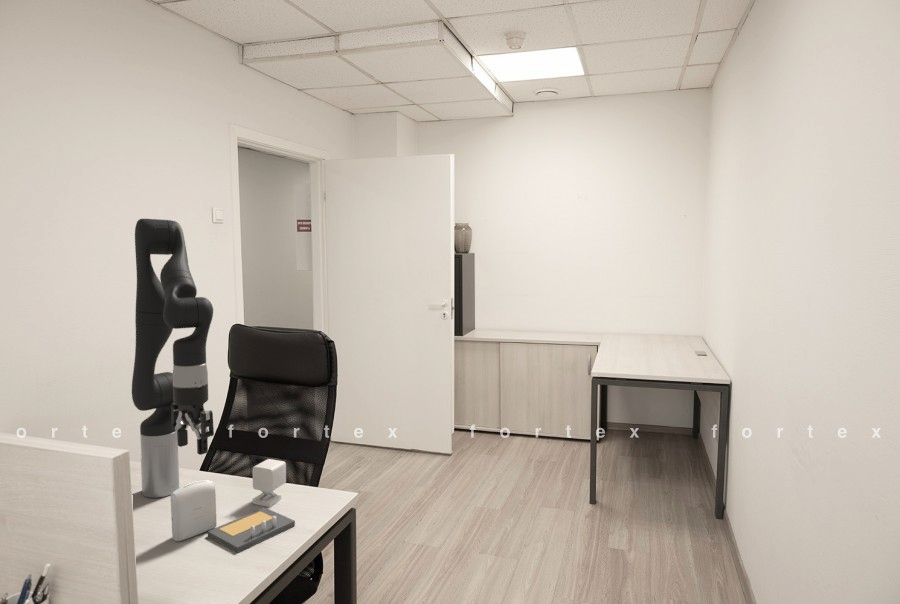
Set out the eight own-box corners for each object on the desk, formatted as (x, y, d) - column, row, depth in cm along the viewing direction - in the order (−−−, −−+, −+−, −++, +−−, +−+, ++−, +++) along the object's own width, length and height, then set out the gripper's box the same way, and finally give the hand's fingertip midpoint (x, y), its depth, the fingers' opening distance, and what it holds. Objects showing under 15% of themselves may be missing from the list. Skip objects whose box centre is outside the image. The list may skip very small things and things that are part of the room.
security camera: (286, 496, 159) (286, 461, 158) (270, 507, 153) (270, 470, 152) (267, 493, 161) (266, 458, 160) (250, 503, 155) (250, 467, 154)
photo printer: (177, 544, 133) (175, 492, 132) (168, 537, 136) (167, 487, 135) (219, 527, 141) (218, 479, 140) (210, 522, 144) (209, 474, 143)
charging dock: (207, 536, 137) (207, 521, 137) (264, 511, 150) (264, 498, 150) (237, 552, 130) (237, 536, 130) (294, 525, 143) (294, 511, 143)
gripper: (158, 380, 136) (161, 447, 138) (192, 390, 128) (194, 461, 130) (189, 375, 142) (191, 439, 144) (222, 384, 134) (224, 451, 136)
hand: (192, 449), depth 137 cm, fingers open, 8 cm apart
